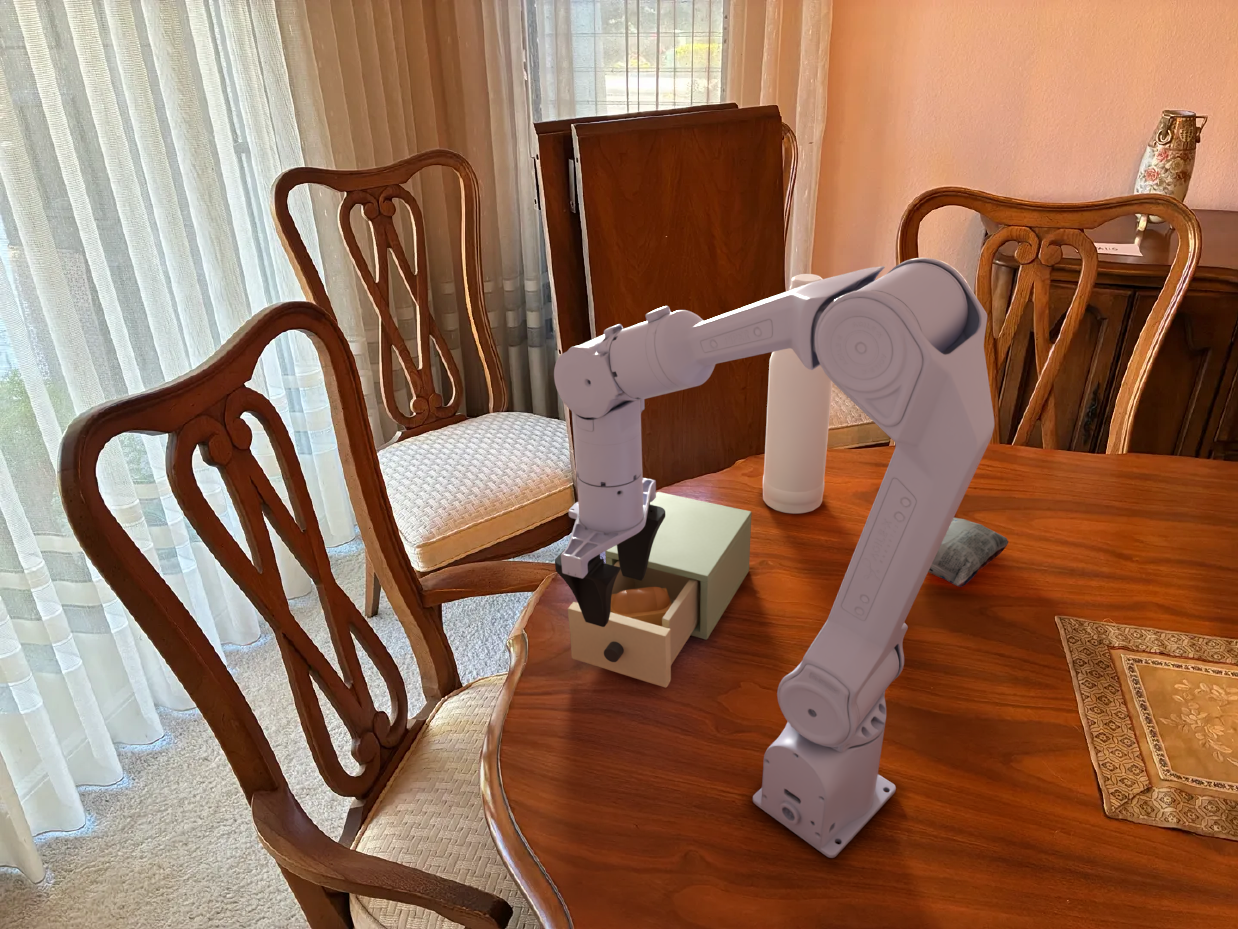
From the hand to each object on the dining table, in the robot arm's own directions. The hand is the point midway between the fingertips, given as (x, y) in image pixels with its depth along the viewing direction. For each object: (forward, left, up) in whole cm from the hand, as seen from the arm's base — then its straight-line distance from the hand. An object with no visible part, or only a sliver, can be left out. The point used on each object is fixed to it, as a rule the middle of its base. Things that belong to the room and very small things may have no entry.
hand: (615, 598), depth 80 cm
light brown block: (+5, +2, -8) cm, 9 cm away
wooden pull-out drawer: (+5, +2, -9) cm, 10 cm away
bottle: (+40, +8, -10) cm, 42 cm away
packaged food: (+40, -13, -10) cm, 43 cm away
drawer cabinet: (+15, +5, -10) cm, 19 cm away
